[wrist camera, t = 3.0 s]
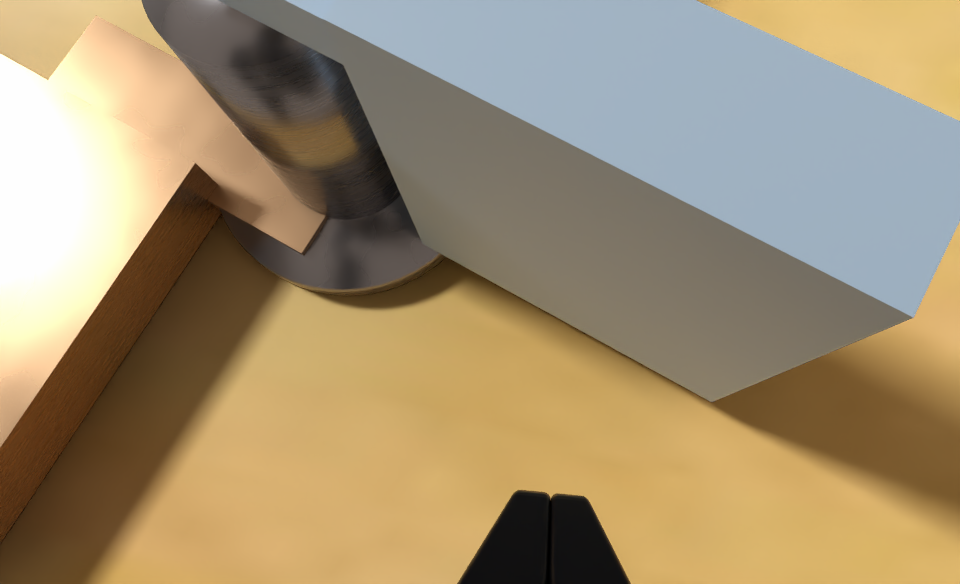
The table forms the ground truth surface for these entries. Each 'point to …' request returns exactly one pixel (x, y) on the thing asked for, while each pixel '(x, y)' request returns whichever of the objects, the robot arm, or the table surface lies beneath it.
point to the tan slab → (169, 201)
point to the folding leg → (651, 171)
